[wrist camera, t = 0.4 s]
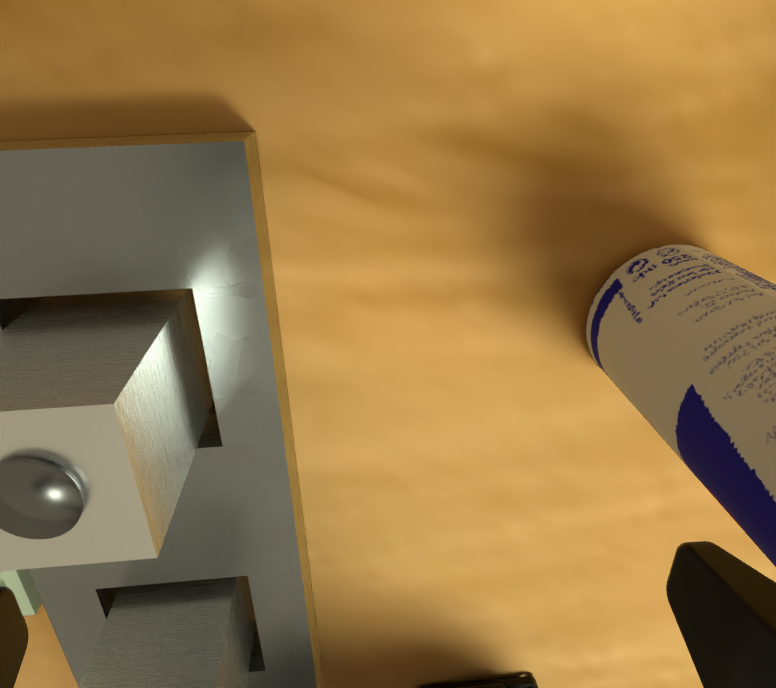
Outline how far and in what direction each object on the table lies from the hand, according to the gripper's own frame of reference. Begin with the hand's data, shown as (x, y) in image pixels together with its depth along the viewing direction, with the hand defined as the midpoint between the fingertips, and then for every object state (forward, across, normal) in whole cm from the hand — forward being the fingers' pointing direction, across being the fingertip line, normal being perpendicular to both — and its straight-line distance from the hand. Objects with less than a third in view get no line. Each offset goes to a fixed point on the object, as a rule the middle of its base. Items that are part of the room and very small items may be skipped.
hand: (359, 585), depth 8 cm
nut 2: (+14, +7, +14) cm, 21 cm away
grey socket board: (+14, +7, +8) cm, 18 cm away
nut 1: (+14, +7, +2) cm, 16 cm away
